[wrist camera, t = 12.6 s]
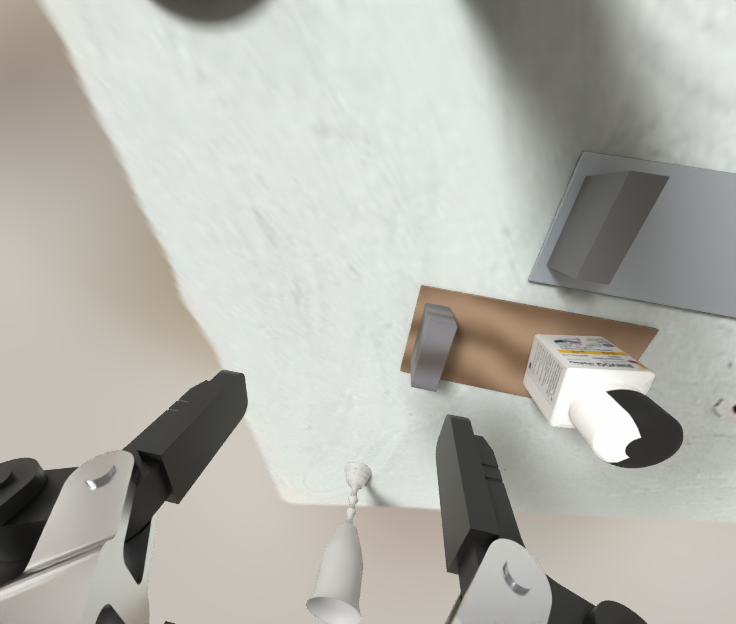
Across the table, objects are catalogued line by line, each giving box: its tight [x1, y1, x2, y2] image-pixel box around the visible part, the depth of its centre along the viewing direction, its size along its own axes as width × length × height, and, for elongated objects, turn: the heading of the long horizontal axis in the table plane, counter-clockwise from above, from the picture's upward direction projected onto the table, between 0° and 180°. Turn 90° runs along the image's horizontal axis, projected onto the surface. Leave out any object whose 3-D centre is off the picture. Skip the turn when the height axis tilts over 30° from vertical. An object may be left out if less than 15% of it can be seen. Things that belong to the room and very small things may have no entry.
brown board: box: [400, 285, 659, 398], centre depth 31 cm, size 13×28×6 cm, turn 81°
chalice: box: [306, 462, 371, 624], centre depth 40 cm, size 7×7×18 cm
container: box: [523, 334, 683, 468], centre depth 27 cm, size 8×8×13 cm
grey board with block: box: [528, 151, 736, 318], centre depth 24 cm, size 13×28×6 cm, turn 81°
